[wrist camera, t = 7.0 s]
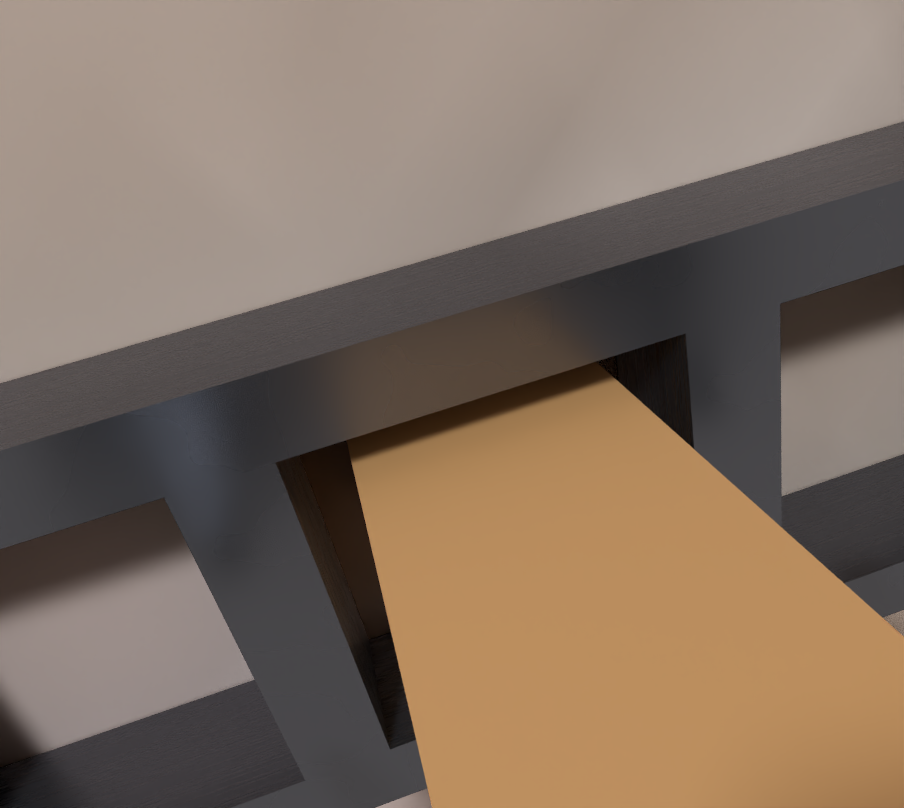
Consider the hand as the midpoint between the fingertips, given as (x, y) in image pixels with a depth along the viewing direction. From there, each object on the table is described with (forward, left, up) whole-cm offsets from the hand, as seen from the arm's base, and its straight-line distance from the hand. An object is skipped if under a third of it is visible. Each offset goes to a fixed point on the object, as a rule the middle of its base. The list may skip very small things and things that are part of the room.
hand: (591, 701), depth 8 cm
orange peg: (0, 0, -5) cm, 5 cm away
